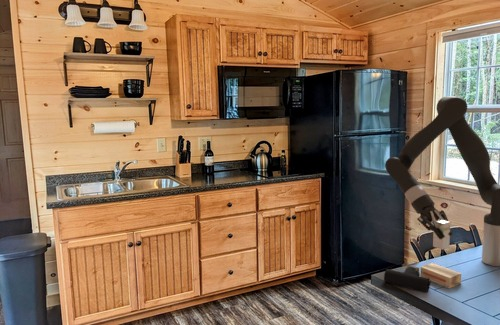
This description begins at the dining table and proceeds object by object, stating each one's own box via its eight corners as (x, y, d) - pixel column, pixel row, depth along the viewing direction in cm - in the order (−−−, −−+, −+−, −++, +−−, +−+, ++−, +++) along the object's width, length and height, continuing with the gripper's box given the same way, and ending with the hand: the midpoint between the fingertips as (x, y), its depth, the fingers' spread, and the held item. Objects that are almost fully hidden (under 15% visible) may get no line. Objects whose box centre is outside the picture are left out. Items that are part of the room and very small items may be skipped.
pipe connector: (394, 260, 152) (434, 269, 143) (394, 273, 153) (434, 282, 144) (384, 271, 143) (426, 281, 134) (384, 284, 144) (426, 295, 135)
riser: (431, 272, 152) (432, 262, 152) (460, 283, 142) (461, 273, 141) (419, 276, 148) (420, 267, 148) (448, 288, 138) (449, 278, 138)
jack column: (439, 244, 146) (440, 219, 145) (449, 247, 143) (450, 221, 141) (432, 246, 144) (433, 221, 143) (442, 249, 141) (443, 223, 139)
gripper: (413, 196, 144) (441, 235, 135) (436, 191, 151) (465, 228, 142) (401, 206, 149) (427, 245, 140) (424, 201, 156) (451, 238, 147)
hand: (446, 236), depth 141 cm, fingers closed on jack column, 4 cm apart
